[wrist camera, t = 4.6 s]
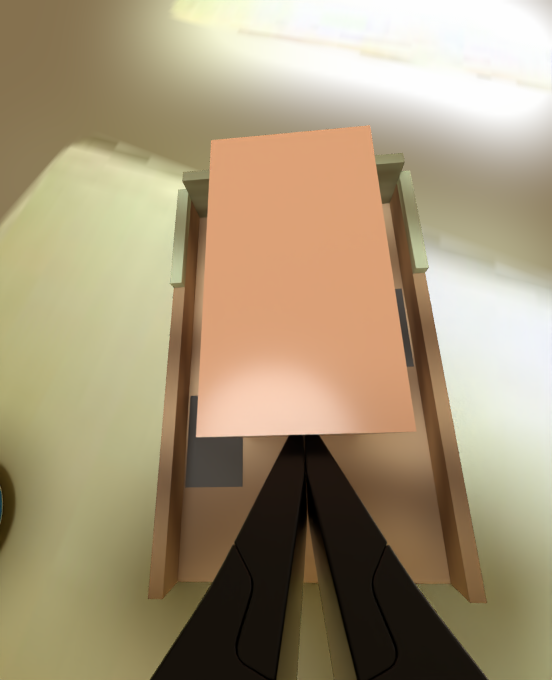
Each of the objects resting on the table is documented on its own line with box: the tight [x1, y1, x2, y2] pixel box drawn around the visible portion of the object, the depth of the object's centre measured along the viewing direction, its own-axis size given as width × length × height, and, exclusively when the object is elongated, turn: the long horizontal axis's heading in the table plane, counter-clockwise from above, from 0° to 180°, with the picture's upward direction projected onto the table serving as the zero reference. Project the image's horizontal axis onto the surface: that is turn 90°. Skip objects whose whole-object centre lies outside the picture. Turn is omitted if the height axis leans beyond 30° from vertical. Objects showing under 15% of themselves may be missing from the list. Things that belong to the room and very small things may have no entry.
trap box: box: [148, 153, 487, 603], centre depth 15 cm, size 20×13×4 cm, turn 1°
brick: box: [196, 126, 417, 438], centre depth 13 cm, size 10×6×8 cm, turn 1°
